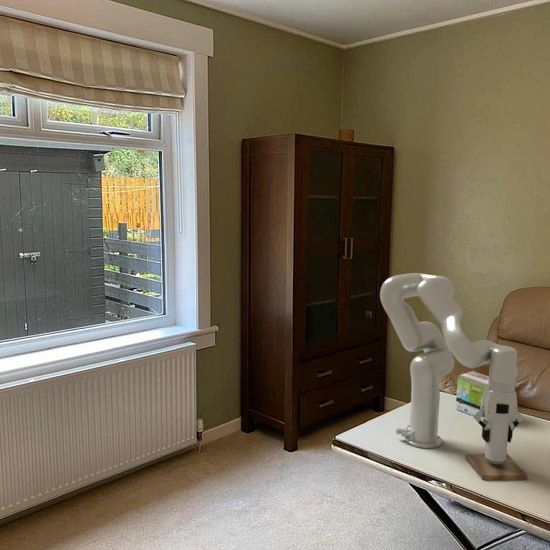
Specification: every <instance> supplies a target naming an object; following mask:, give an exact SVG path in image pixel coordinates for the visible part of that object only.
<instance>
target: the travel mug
mask: <svg viewBox="0 0 550 550" xmlns="http://www.w3.org/2000/svg"><path fill="white" fill-rule="evenodd" d="M496 410H497V411H496V413H495V414H496V415H495V417H494V421H493V422H491V425H490V427H489V428H488V430H489V431H490V435H489V442H486V441H485V449H484V454H485V459H486V460H487V461H488V462H490V463H493V464H504V463H505V462H506V455H507V454H508V443H509V442H508V429H509V415H508V414H509V411H508V410H509V405H501V404H497V405H496Z"/></svg>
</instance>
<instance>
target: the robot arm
mask: <svg viewBox="0 0 550 550" xmlns="http://www.w3.org/2000/svg"><path fill="white" fill-rule="evenodd" d="M454 293H455V286H454V284H453V282H452V281H451V279H450V278H448V277H446V276H443V275H436V274H435V275H434V274H427V273H421V272H420V273H419V272H412V273H411V272H410V273H403V274H397V275H393V276H390V277H388V278H387V279H386V280H385V281H384V282H383V283H382V285H381V287H380V292H379V298H380V302H381V305H382V307H383V309H384V311H385V313H386V314H387V316H388V318H389V319H390V321H391V324H392V326H393V327H394V330H395V332H396V335H397V337H398V338H399V341H400V343H401V344H402V347H403V348H404V350H406V351H408V352H411V353H413V352H420V351H423V353H420V354H418V355H416V356H415V357H414V358H413V359H412V360H411V363H410V366H409V370H410V373H409V374H410V381H411V392H410V393H411V395H410V396H411V399H410V413H409V414H410V416H409V424H407V426H406V427H405V428H395V434H396V435H401V436H400V437H404V440H405V442H406V443H408V444H409V445H411V446H413V447H417V448H421V449H434V448H438V447H440V446H441V445H442V443H443V441H442V438H441V436H440V435H438V434H439V433H438V431H439V429H438V428H439V415H440V401H441V400H440V399H441V398H440V397H441V394H440V393H441V391H440V390H441V389H440V387H439V382H438V379H440V378H442V377H444V376H446V375H447V376H448V375H449V374H450V373H451V372H452V371H453V369H454V366H455V360H454V357H455V359H456V360H457V361H458V362H459V363H460V364H461V365H462V366H463V367H466V368H468V369H476V368H478V367H479V368H480V367H481V366H484V365H489V371H488V373H489V374H488V376H489V382H488V388H485V390H484V394H483V397H482V402H481V408H480V411H479V412H477V413H476V414H475V415H474V416H473V415H472V417H473V419H474V420H475V421H476V422H477V423H478V424H479V425H480V426H481V428H482V430H481V438H482V440H484V442H485V443H486V442H489V435H490V431H489V430H488V428H489V427H490V425H491V422H493V421H494V417H495V415H496V414H495V413H496V411H497V410H496V405H497V404H501V405H509V410H508V411H509V414H508V415H509V429H508V442H507V443H511V442H512V439H513V432H514V431H515V428H516V427H518V426H519V425H520V423H521V422H522V421H523V420H524V419H525V417H524V416H523V415H522V414H521V412H519V411H518V398H517V397H518V396H517V392H516V390H515V389H516V387H517V388H518V387H519V385H520V383H519V382H517V381H516V373H517V361H518V351H517V349H516V348H515V347H512V346H508V345H503V344H498V343H495V342H493V341H490V340H487V339H480V340H477V341H473V342H471V341H470V340H469V338H468V337H467V336H466V334H465V332H463V329H462V326H461V319H462V316H463V313H464V311H463V309H462V308H461V306H460V305H459V303H458V302H457V301H456V300H455V299H454V298H453V295H454ZM413 297H418V298H419V299H420V300H421V302H422V303H423V304H424V306H425V307H426V308H427V309H428V310H429V312H430V313H431V315H432V316H433V317H434V318H435V320H436V321H437V322H438V323H439V324H440V326H441V331H442V332H441V331H440V329H439V328H438V326H437V325H436V324H434V323H433V322H430V321H428V320H427V321H426V320H425V321H419V319H418V318H417V316H416V313H415V312H414V310H413V308H412V307H411V306H410V305H409V304H408V303H407V302H406V301H405V299H409V298H413ZM481 417H485V418H484V420H483V419H480V418H481Z"/></svg>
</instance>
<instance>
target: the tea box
mask: <svg viewBox="0 0 550 550" xmlns="http://www.w3.org/2000/svg"><path fill="white" fill-rule="evenodd" d="M488 382H489V375H486V374H482V373H479V372H476V371H473V370H471V371H468V372H466V373H465V372H464V373H462V374H459V375H457V384H456V395H455V397H456V399H455V401H456V402H455V410H457V411H460V412H463V413H466V414H468V415H471V416H472V417H473V416H474V415H475V414H476V413H477V412H479V411H480V408H481V402H482V397H483V394H484V390H485V388H488ZM484 418H485V417H481V418H480V420H482V421H483V420H484Z"/></svg>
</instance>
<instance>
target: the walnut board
mask: <svg viewBox="0 0 550 550" xmlns="http://www.w3.org/2000/svg"><path fill="white" fill-rule="evenodd" d="M464 459H465V460H466V461H467V462H468V464H469V466H471V468H472V469H473V471H474V472H475V473H476V474H477V475H478V476H479V478H480V479H481V480H482V481H490V480H491V481H501V480H502V481H503V480H504V481H506V480H508V481H509V480H510V481H512V480H514V481H517V480H518V481H519V480H522V481H526V480H528V477H529V476H528V474H527V472H526V471H524V469H523V468H522V467H521V466H520V465H519V464H518V463H516V461H515V460H514V459H513V458H512V457H511V456H510V455H509V454H508V453H507V455H506V462H505V463H504V464H493V463H490V462H488V461H487V460H486V459H485V453H465V455H464Z"/></svg>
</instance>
